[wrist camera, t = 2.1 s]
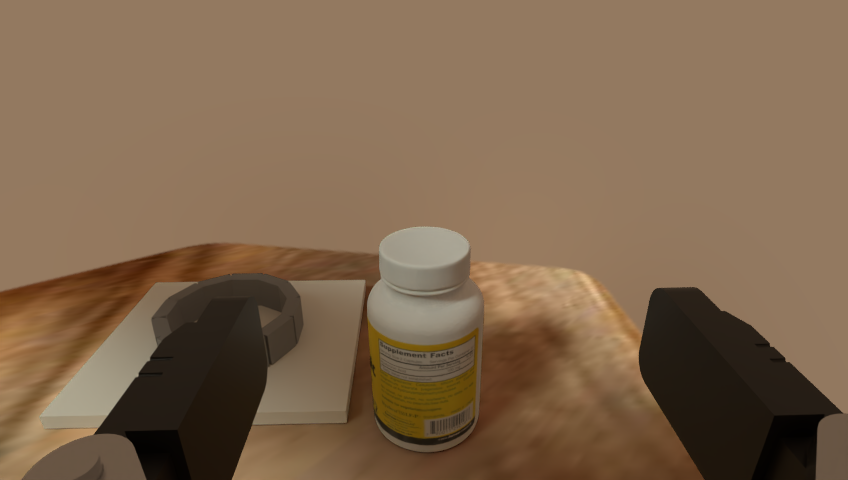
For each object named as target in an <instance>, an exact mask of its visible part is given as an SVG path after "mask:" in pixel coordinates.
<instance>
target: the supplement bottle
mask: <svg viewBox="0 0 848 480" xmlns="http://www.w3.org/2000/svg"><path fill="white" fill-rule="evenodd" d="M379 261H380V262H379V269H380V275H381V279H380V280H379V281H378V282H377V283H376V284H375V285H374V287H373V288H372V290H371V292H370V294H369V296H368V301H367V321H368V334H369V348H370V365H371V377H372V393H373V406H374V415H375V420H376V423H377V425H378V427H379V429H380V431H381V432H382V433H383V435H384V436H385V437H386V438H387V439H389V440H390V441H391V442H393V443H394V444H396V445H398V446H400V447H402V448H405V449H408V450H412V451H418V452H437V451H442V450H446V449H448V448H451V447H453V446H456V445H457V444H459V443H461V442H462V441H463V440H465V439H466V438H467V437H468V436H469V435H470V433H471V432H472V431H473V429H474V428H475V426H476V423H477V420H478V416H479V406H480V388H481V368H482V347H483V324H484V300H483V295H482V293H481V291H480V289H479V288H478V286H477V285H476V284H475V282H473V281H472V280H471V279H470V278H469V275H470V244H469V242H468V240H467V239H466V238H465V237H463V236H462V235H460V234H459V233H457V232H454V231H452V230H448V229H444V228H439V227H413V228H407V229H403V230H399V231H397V232H394V233H392V234H390V235H388V236H387V237H386V238H384V239H383V240H382V242H381V244H380V246H379Z"/></svg>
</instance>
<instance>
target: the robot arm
mask: <svg viewBox="0 0 848 480" xmlns="http://www.w3.org/2000/svg"><path fill="white" fill-rule="evenodd" d="M639 366H640V371H641V375H642V378H643V380H644V382H645V384H646V385H647V387H648V389H649V390H650V392H651V393H652V395H653V397H654V398H655V400H656V402H657V403H658V405H659V406H660V408H661V410H662V411H663V413H664V415H665V416H666V418H667V419H668V421H669V423H670V424H671V426H672V428H673V429H674V431H675V432H676V434H677V436H678V437H679V439H680V440H681V442H682V444H683V445H684V447H685V449H686V450H687V452H688V453H689V455H690V457H691V458H692V460H693V462H694V463H695V465H696V466H697V468H698V470H699V471H700V473H701V474H702V476H703V478H704V479H705V480H848V414H843V413H842V412H841V411H840V410H839V409H838V408H837V407H836V406H835V405H834V404H833V403H832V402H831V401H830V400H829V399H828V398H827V397H826V396H825V395H823V394H822V393H821V392H820V391H819V390H818V389H817V388H816V387H815V386H814V385H813V384H812V383H811V382H810V381H809V380H807V378H805V376H803V375H802V374H801V373H800V372H799V371H798V370H797V369H796V368H795V367H794V366H793V365H792V364H791V363H790V362H786V361H785V357H783V356H782V355H781V354H780V353H779V352H778V351H777V350H776V349H775V348H774V347H770V343H769V342H768V341H767V340H765V338H763V337H762V336H761V335H760V334H759V333H758V332H757V331H756V330H755V329H754V328H753V327H752V326H751V325H749V324H747V323H745V322H744V321H742V320H740V319H738V318H736V317H735V316H733V315H731V314H729V313H727V312H725V311H720V309H719V308H718V307H717V306H716V305H715V304H714V303H713V302H712V301H711V300H710V299H709V298H708V297H707V296H706V295H705V294H704V293H703V292H702V291H700V290H699V289H698V288H695V287H687V288H685V287H682V288H657V289H655V290H654V291H653V292H652V295H651V297H650V301H649V306H648V311H647V315H646V320H645V326H644V330H643V335H642V340H641V345H640V350H639ZM267 371H268V365H267V356H266V350H265V344H264V338H263V332H262V327H261V321H260V315H259V309H258V304H257V301H256V299H255V298H254V297H253V296H233V297H214V298H213V299H212V300H211V301H210V302H209V304H208V305H207V307H206V308H205V310H204V312H203V313H202V315H201V316H200V318H199V319H198V321H197V322H186V323H184V324H183V325H182V326H180V327H179V328H177V329H176V330H175V331H173V332H172V333H171V334H169V335H168V336H166V337H165V338H164V339H163V340H162V341H161V343H160V344H159V345H158V347H157V348H156V350H155V351H154V352H153V354H152V355H151V356H150V361H147V362H146V363H145V365H144V366H143V368H142V369H141V370H140V372H139V376H138V377H135V379H134V380H133V381H132V383H131V384H130V385H129V387H128V388H127V390H126V391H125V392H124V394H123V395H122V396H121V398H120V399H119V401H118V402H117V403H116V405H115V406H114V407H113V409H112V410H111V412H110V413H109V414H108V416H107V417H106V418H105V420H104V421H103V423H102V424H101V425H100V427H99V428H98V430H97V431H96V432H95V434H94V435H91V436H87V437H83V438H80V439H77V440H74V441H72V442H69V443H67V444H65V445H63V446H61V447H59V448H57V449H56V450H54V451H52V452H51V453H49V454H48V455H46V456H45V457H43V458H42V459H41V460H40V461H38V462H37V463H36V464H35V465H34V466H33V467H32V468H31V469H30V470H29V471H28V472H27V473H26V474H25V476H24V477H23V478H22V480H232V477H233V475H234V472H235V469H236V467H237V464H238V461H239V459H240V456H241V453H242V450H243V448H244V445H245V442H246V440H247V437H248V434H249V431H250V429H251V426H252V423H253V421H254V418H255V415H256V413H257V410H258V407H259V404H260V402H261V399H262V396H263V394H264V391H265V387H266V382H267Z"/></svg>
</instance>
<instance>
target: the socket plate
mask: <svg viewBox="0 0 848 480" xmlns="http://www.w3.org/2000/svg"><path fill="white" fill-rule="evenodd" d="M365 292H366V282H365V280H315V281H287V280H283V279H280V278H277V277H274V276H271V275H268V274H264V275H263V273H257V274H232V275H230V274H228V275H224V276H220V277H216V278H212V279H208V280H204V281H200V282H156V283H155V284H154V285H153V286H152V288H151V289H150V290H149V291H148V292H147V293H146V294H145V296H144V297H143V298H142V299H141V300H140V301H139V302H138V304H137V305H136V306H135V307H134V308H133V309H132V310H131V312H130V313H129V314H128V315H127V316H126V317H125V318H124V320H123V321H122V322H121V323H120V324H119V325H118V327H117V328H116V329H115V330H114V331H113V332H112V333H111V335H110V336H109V337H108V338H107V339H106V340H105V341H104V343H103V344H102V345H101V346H100V347H99V348H98V349H97V351H96V352H95V353H94V354H93V355H92V356H91V358H90V359H89V360H88V361H87V362H86V363H85V364H84V366H83V367H82V368H81V369H80V370H79V371H78V372H77V374H76V375H75V376H74V377H73V378H72V379H71V380H70V382H69V383H68V384H67V385H66V386H65V387H64V389H63V390H62V391H61V392H60V393H59V394H58V395H57V397H56V398H55V399H54V400H53V401H52V402H51V403H50V405H49V406H48V407H47V408H46V409H45V410H44V411H43V413H42V414H41V415H40V416H39V418H40V420H41V422H42V425H43V427H44V429H54V428H99V427H100V425H101V424H102V423H103V421H104V420H105V418H106V417H107V416H108V414H109V413H110V412H111V410H112V409H113V407H114V406H115V405H116V403H117V402H118V401H119V399H120V398H121V396H122V395H123V394H124V392H125V391H126V390H127V388H128V387H129V385H130V384H131V383H132V381H133V380H134V379H135V377H138V376H139V372H140V370H141V369H142V368H143V366H144V365H145V363H146V362H147V361H150V356H151V355H152V354H153V352H154V351H155V350H156V348H157V347H158V345H159V344H160V343H161V341H162V340H163V339H164V338H165V337H166V336H168V335H169V334H171V333H172V332H173V331H175V330H176V329H177V328H179V327H180V326H182V325H183V324H184V323H186V322H197V321H198V319H199V318H200V316H201V315H202V313H203V312H204V310H205V308H206V307H207V305H208V304H209V302H210V301H211V300H212V299H213V298H214V297H233V296H253V297H254V298H255V299H256V301H257V304H258V309H259V315H260V321H261V327H262V332H263V338H264V344H265V350H266V356H267V365H268V371H267V382H266V387H265V391H264V394H263V396H262V399H261V402H260V404H259V407H258V410H257V413H256V415H255V418H254V421H253V423H252V425H265V424H318V423H347V418H348V411H349V404H350V397H351V390H352V383H353V376H354V369H355V362H356V355H357V348H358V341H359V334H360V327H361V320H362V313H363V306H364V299H365Z"/></svg>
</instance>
